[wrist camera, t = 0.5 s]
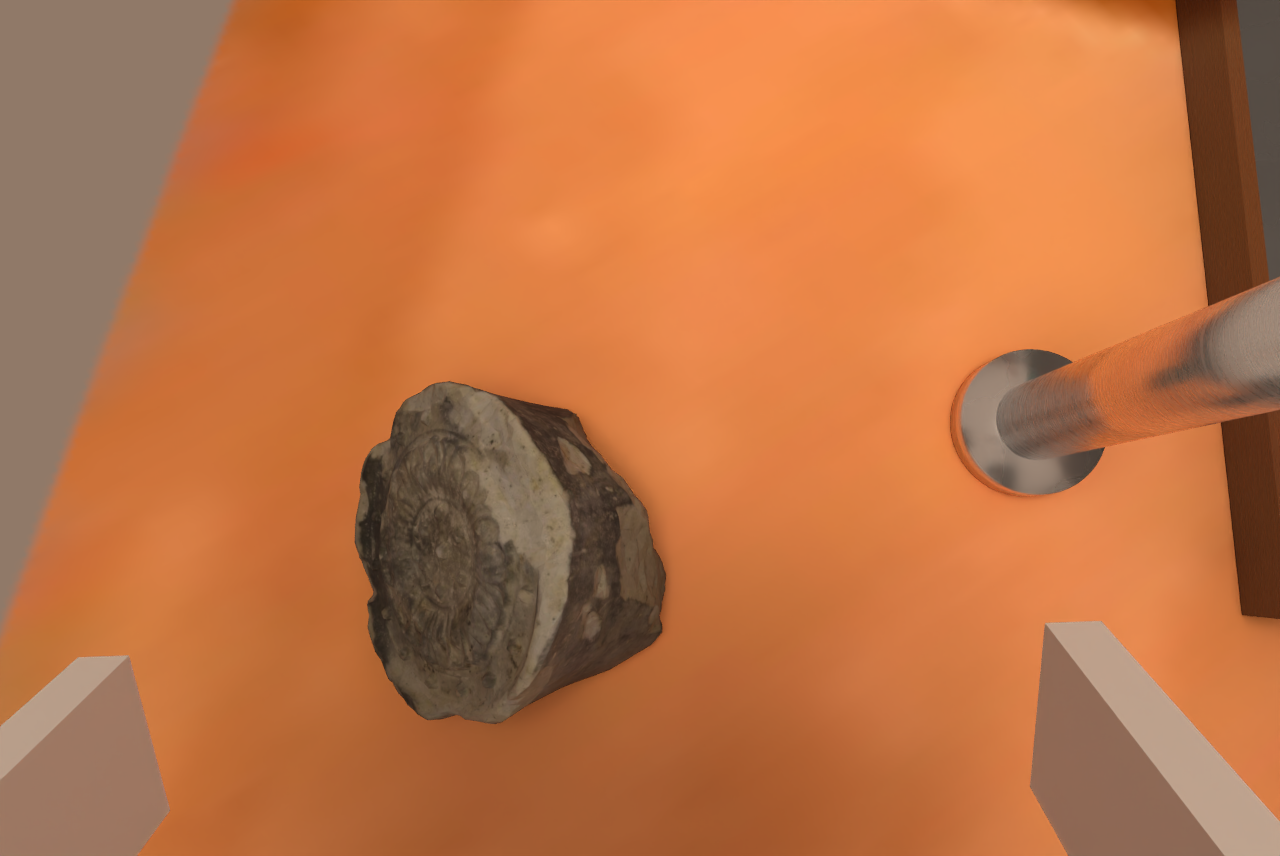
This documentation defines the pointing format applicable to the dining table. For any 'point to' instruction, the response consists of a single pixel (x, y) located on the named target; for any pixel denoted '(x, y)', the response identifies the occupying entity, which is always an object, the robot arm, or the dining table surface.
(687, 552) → the dining table surface
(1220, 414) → the steel peg
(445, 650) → the fossil
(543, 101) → the dining table surface
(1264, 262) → the keyhole plate
